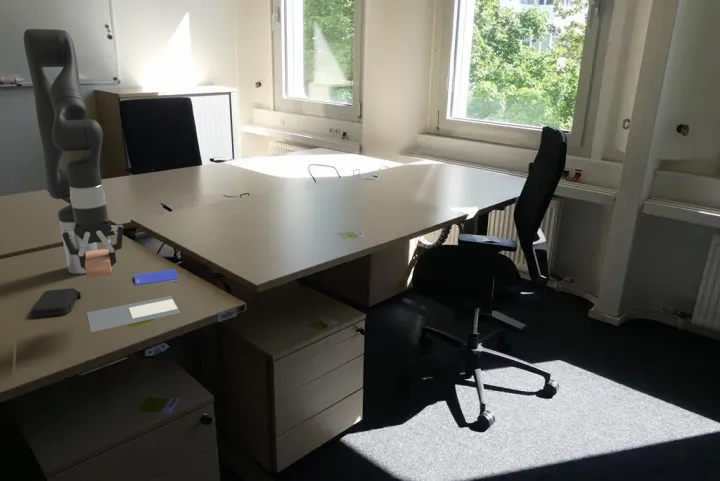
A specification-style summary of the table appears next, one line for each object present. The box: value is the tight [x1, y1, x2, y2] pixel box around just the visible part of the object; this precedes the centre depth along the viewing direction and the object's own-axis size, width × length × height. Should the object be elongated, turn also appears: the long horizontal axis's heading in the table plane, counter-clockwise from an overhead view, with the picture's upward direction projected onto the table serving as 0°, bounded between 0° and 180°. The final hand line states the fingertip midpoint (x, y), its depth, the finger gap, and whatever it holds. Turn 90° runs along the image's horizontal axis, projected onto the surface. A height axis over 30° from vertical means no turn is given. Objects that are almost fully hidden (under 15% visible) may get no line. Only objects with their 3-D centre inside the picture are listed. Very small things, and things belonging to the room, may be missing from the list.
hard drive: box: [134, 268, 180, 286], centre depth 166 cm, size 2×8×12 cm
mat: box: [86, 295, 182, 333], centre depth 144 cm, size 12×22×1 cm, turn 120°
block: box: [85, 248, 113, 279], centre depth 135 cm, size 10×6×4 cm, turn 24°
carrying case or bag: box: [29, 287, 82, 319], centre depth 147 cm, size 11×3×15 cm
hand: (99, 266), depth 136 cm, fingers closed on block, 5 cm apart
